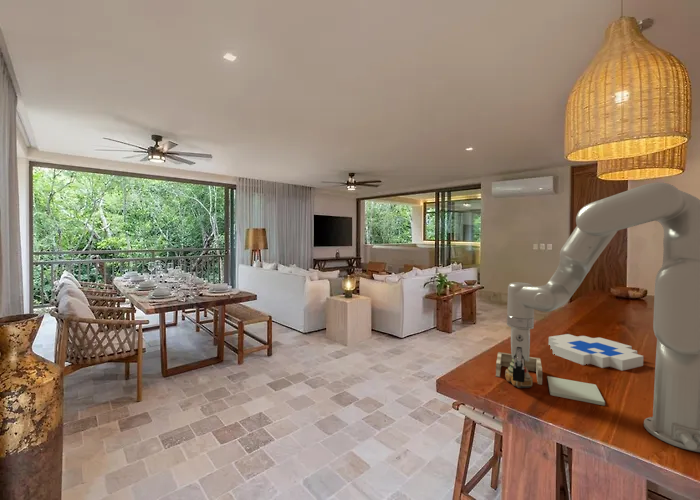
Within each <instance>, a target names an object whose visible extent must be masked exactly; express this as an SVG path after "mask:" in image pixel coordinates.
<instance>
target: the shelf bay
mask: <svg viewBox="0 0 700 500" xmlns="http://www.w3.org/2000/svg"><path fill="white" fill-rule="evenodd" d="M496 356H497V358H496V364H495V377H499V378H500V377H501V370H502V367H507V368H508V367H510V363H511V362H512V359H513V358H512V353H507V352H500V351H498V352H497V355H496ZM525 367H526V368H527V370H528V372H530V371H531V372H536V373H535V374H536V381H537V385H543V367H542V359H541V358H540V357H535V356H534V357H532V356H529V361H528V362H527V361H526V360H525Z"/></svg>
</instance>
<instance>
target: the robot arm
mask: <svg viewBox="0 0 700 500" xmlns="http://www.w3.org/2000/svg"><path fill="white" fill-rule="evenodd" d="M654 221H655V222H658V223H659V224H660V225H661V226H662V229H663V246H662V247H663V250H662V251H663V253H662V255H663V256H662V265H661V268H659V270H658V271H657V273H656V274H655V280H654V281H655V282H654V295H653V296H654V300H653V321H652V324H653V325H652V328H653V332H654V333H653V334H654V336H655V338H656V348H655V349H656V350H655V352H656V353H655V366H654V367H655V368H654V385H653V387H654V388H653V402H652V403H653V404H652V405H653V406H652V407H653V408H652V416H649V417H646V418H645V419H644V420H643V427H644V429H646V431H647V432H648V433H649V434H651V435H652V436H654V437H655V438H657V439H659V440H660V441H663V442H665V443H667V444H668V445H671V446H674V447H677V448H680V449H682V450H687V451H691V452H694V453H695V452H696V453H700V199H699V198H698V197H696V196H694V195H692V194H690V193H688V192H685V191H683V190H680V189H679V188H677V187H676V186H674V185H673V184H670V183H667V182H661V181H660V182H650V183H647V184H643V185H640V186H636V187H633V188H631V189H630V188H629V189H628V190H626V191H622V192H620V193H619V192H618V193H616V194H613V195H610V196H608V197H604V198H602V199H599V200H598V199H597V200H595V201H592V202H590V203H589V202H588V204H587V203H586V204H585V205H584V206H582V208H580V210H578V212H577V214H576V216H575V224H576V226H575V228H574V229H573V231H572V232H571V234H570V235H569V237H568V238H567V240H566V241H565V243H564V244H563V246H562V247H561V249H560V251H559V262H558V266H557V268H556V270H555V271H554V273H553V274H552V276H551V277H550V279H549V280H548V281H547V283H545V284H543V285H539V286H537V285H536V286H534V285H533V284H532V283H528V282H521V281H516V282H510V283H509V284H508V285H507V300H506V301H507V302H506V303H507V305H506V306H507V307H506V308H507V309H506V310H507V311H506V314H507V315H506V326H507V327H509V328H510V349H511V350H510V352H511V353H510V354H512V358H513V359H514V367H513V380H514V381H518V382H524V378H525V369H524V366H525V360H526V361H527V362H528V361H529V357H530V353H531V351H530V350H531V349H530V348H531V330H533V329H534V325H535V324H534V323H535V322H534V321H535V310H537V311H540V312H544V313H546V312H549V313H550V312H552V311H554V310H557V309H559V308H561V307H564V306H565V305H566V304H567V303H568V302H569V300H570V299H571V298H572V296H573V295H574V293H576V291H578V290H577V289H579V287H580V286H581V285H582V283H583V282H584V279H585V278H586V276H587V274H588V273H589V272H590V270H592V267H593V266H594V264H595V263H596V261H598V258H599V257H600V255H601V254H603V253H602V252H604V250H605V249H606V247H608V245H609V243H610V242H611V241H612V239H613V238H614V237H615V235H616V234H617V232H619V231H621V230H624V229H629V228H632V227H636V226H639V225H644V224H646V223H652V222H654ZM516 357H517V358H516ZM521 358H522V359H521ZM516 361H517V362H516ZM521 362H522V363H521Z"/></svg>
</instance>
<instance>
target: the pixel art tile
mask: <svg viewBox="0 0 700 500" xmlns="http://www.w3.org/2000/svg"><path fill="white" fill-rule="evenodd" d="M549 345H550V348H549V349H550V350H551V349H552V355H554V354H555V355H554V356H556V357H561V358H562V359H566V360H569V361H570V362H573V363H576V364H578V365H579V364H580V365H581V366H585V365H586V364H587V365H594V366H595V367H599V368H601V369H604V368H609V367H610V368H614V369H616V370H619V371H626V370H631V369H636V368H640V367H643V366H644V355H641V354H638V350H635V349H632V345H628V344H625V343H621V342H619V341H615V340H611V339H607V338H603V337H599V336H598V337H590V336H586V335H579V336H576V335H573V334H570V333H565V334H560V335H559V334H558V335H553V336H552V335H551V336H548V346H549Z"/></svg>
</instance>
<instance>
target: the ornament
mask: <svg viewBox="0 0 700 500" xmlns="http://www.w3.org/2000/svg"><path fill="white" fill-rule="evenodd" d="M516 358H517V357H516ZM521 359H522V358H521ZM516 362H517V361H516ZM521 363H522V362H521ZM513 367H514V359H512V362H511V363H510V367H507V368H506V369H505V372H504V373H505V375H504V377H505V380H506V382H508V383H511V384H512V385H513V387H515V388H516V387H517V388H518V389H525V388H527V389H530V388H532V387H533V380H534V379H533V376H531V374H530V371H529V370H527V368H526V367H525V366H524V369H525V378H524V382H518V381H514V380H513Z"/></svg>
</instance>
